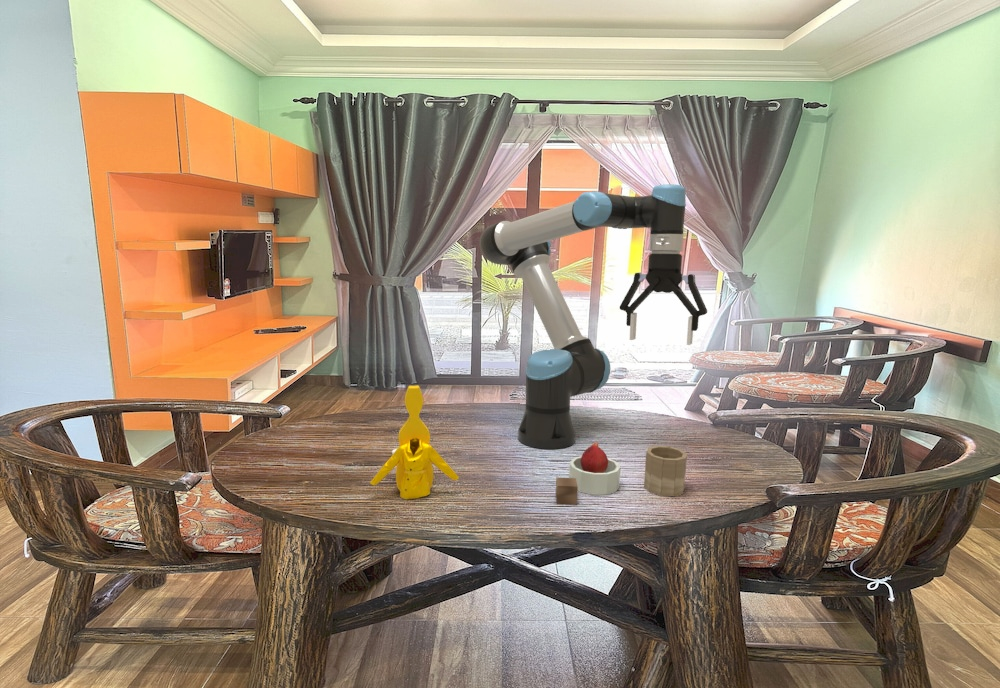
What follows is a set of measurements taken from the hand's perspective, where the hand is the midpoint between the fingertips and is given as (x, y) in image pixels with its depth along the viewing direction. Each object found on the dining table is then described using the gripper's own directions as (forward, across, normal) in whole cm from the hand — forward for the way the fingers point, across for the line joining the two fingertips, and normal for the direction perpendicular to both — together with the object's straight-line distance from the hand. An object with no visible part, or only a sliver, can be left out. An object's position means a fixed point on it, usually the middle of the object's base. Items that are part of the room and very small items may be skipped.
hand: (660, 341), depth 135 cm
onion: (+27, -7, -26) cm, 38 cm away
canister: (+28, +7, -20) cm, 35 cm away
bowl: (+28, -7, -26) cm, 39 cm away
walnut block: (+28, -9, -36) cm, 47 cm away
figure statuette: (+28, -37, -49) cm, 68 cm away
